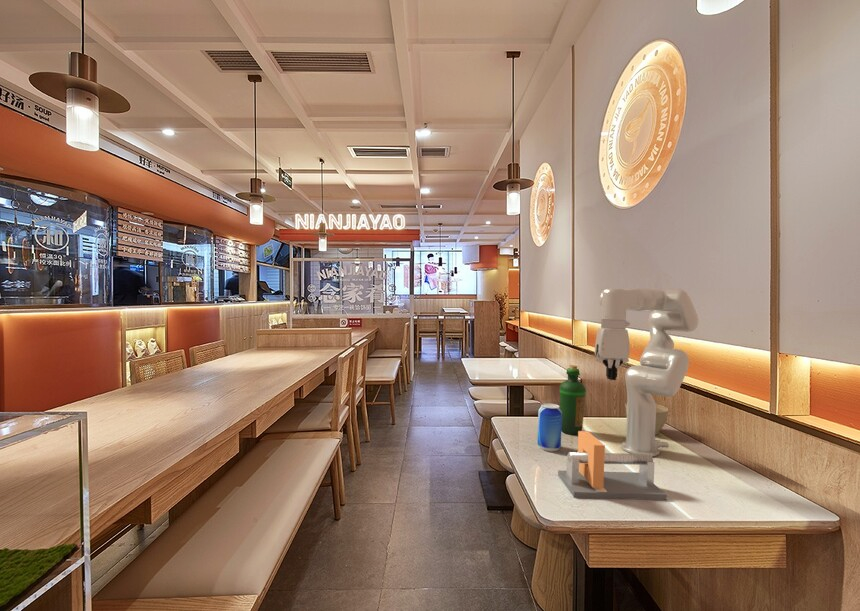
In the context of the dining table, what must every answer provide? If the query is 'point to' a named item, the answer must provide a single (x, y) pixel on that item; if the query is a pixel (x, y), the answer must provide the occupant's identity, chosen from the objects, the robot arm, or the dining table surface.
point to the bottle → (572, 402)
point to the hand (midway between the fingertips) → (611, 379)
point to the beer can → (549, 427)
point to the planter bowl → (658, 417)
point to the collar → (592, 458)
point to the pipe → (613, 458)
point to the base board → (613, 487)
